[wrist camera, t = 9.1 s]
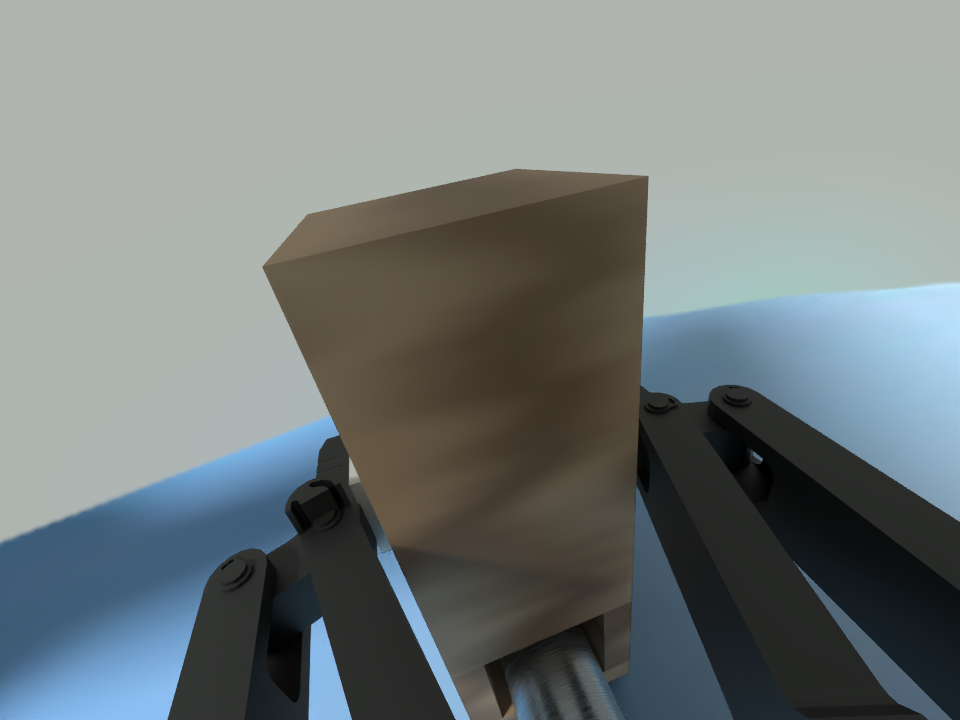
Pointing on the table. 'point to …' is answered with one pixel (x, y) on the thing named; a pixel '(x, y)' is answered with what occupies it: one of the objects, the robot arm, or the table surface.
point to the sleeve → (488, 400)
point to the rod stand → (559, 680)
